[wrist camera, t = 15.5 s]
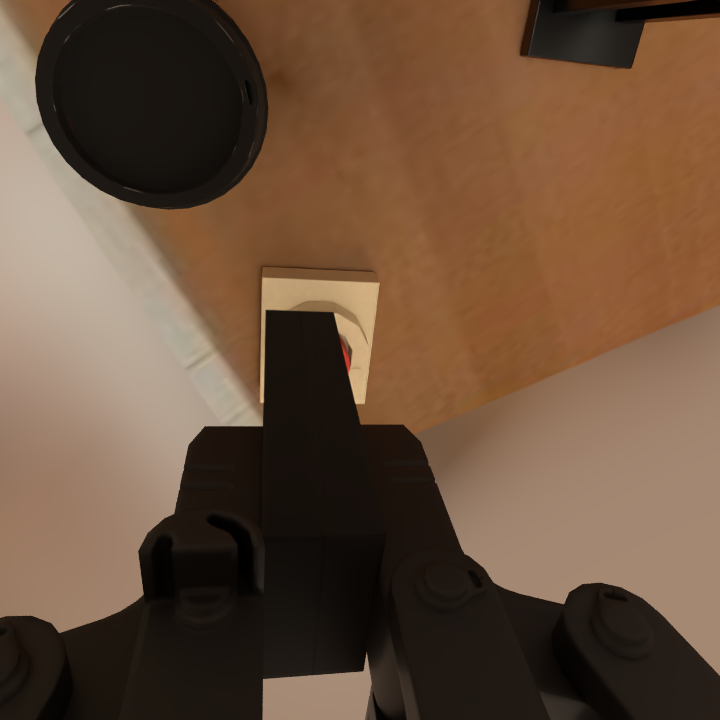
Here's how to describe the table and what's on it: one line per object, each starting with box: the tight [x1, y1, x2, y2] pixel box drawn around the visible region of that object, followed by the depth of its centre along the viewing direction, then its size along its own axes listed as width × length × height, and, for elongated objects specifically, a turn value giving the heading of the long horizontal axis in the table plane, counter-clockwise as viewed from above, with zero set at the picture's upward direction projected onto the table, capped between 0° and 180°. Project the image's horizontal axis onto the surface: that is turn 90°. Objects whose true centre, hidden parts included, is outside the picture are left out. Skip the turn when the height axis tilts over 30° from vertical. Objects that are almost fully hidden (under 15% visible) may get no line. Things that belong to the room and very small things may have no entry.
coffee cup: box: [35, 0, 268, 210], centre depth 26 cm, size 8×8×15 cm
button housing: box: [260, 267, 380, 404], centre depth 40 cm, size 10×8×4 cm
